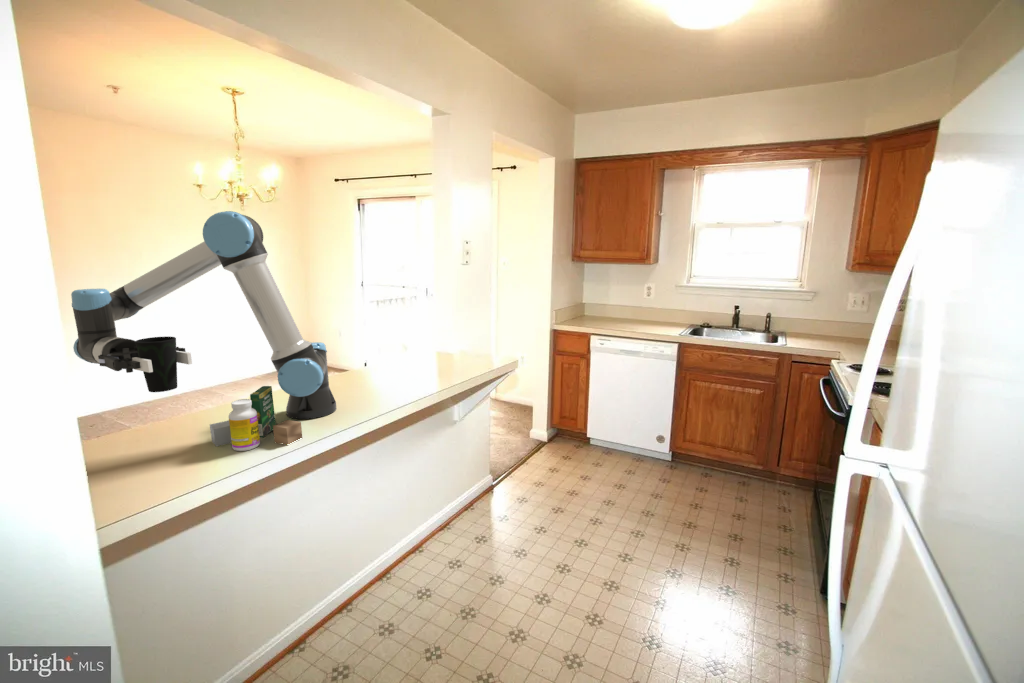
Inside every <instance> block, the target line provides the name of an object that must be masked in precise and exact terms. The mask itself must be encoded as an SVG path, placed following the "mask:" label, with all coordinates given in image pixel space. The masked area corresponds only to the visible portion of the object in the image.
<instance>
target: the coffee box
mask: <svg viewBox="0 0 1024 683" xmlns="http://www.w3.org/2000/svg"><path fill="white" fill-rule="evenodd" d="M249 399H250V400H251V401H252V406H251V408H253V409H255V410H256V411H257V418H258V427H259V436H260V438H265V437H266V436H267V435H268V434H269V433H271V432H272V431H273V426H274V425H276V424H277V423H276V416H275V415H276V413H275V407H274V398H273V388H272V385H262V386H261V387H259V388H258V389H256V390H255V391H254V392H252V393H250V394H249Z"/></svg>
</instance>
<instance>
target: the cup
mask: <svg viewBox="0 0 1024 683" xmlns="http://www.w3.org/2000/svg"><path fill="white" fill-rule="evenodd" d="M134 341H135V344H136V348H137V351H138V355H139V358H143V359H148V360H151V362H152V368H153V372H150V373H149V372H144V371H142V372H143V376H144V379H145V384H146V386H147V390H148V392H150V393H162V392H163V393H164V392H169V391H172V390H175V389H177V388H178V368H177V367H178V365H177V364H178V362H177V358H176V347H177V337H175V336H154V337H146V338H145V337H144V338H142V339H137V340H134Z"/></svg>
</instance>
